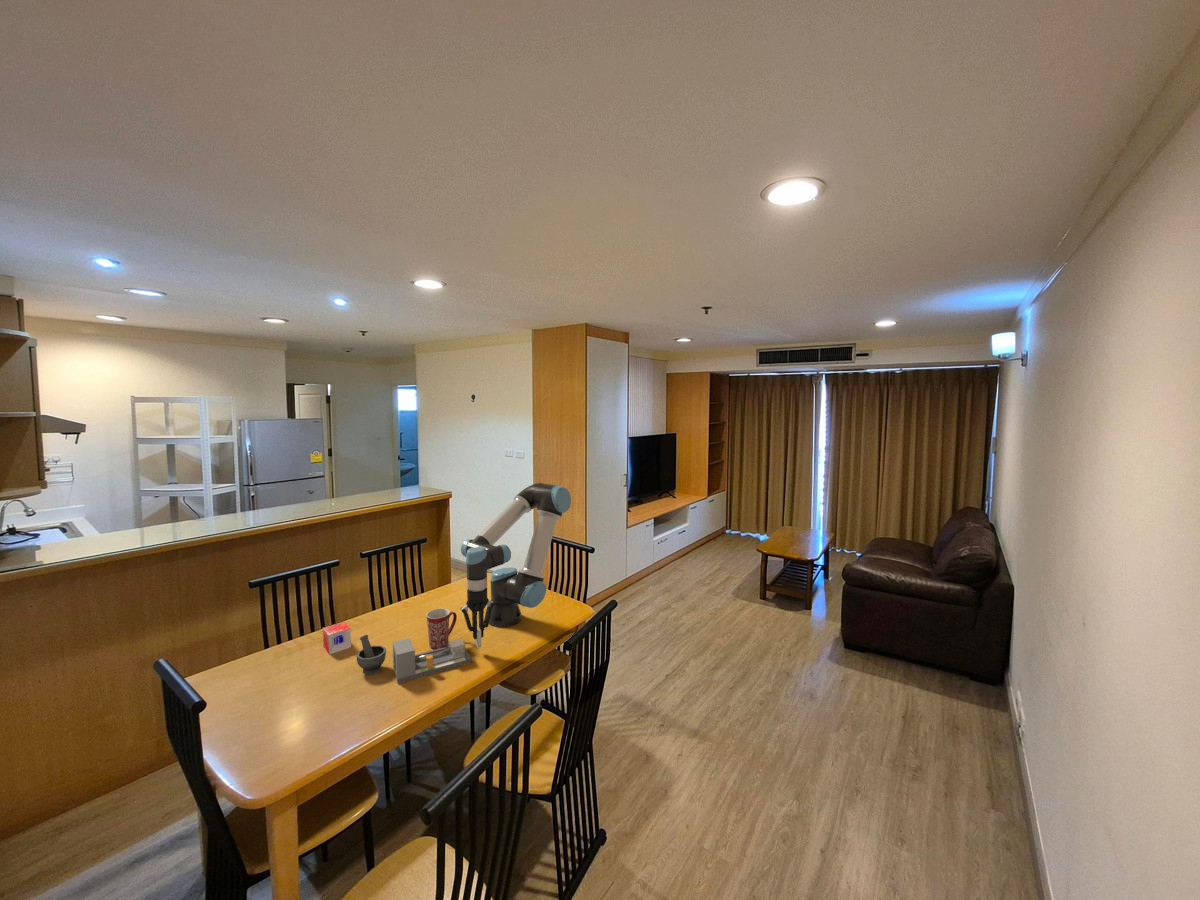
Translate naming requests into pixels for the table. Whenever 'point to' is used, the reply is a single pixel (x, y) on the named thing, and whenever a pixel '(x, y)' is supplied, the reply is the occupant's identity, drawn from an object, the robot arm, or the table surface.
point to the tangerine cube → (429, 662)
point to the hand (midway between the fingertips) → (478, 645)
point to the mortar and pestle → (370, 657)
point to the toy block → (336, 637)
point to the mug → (439, 627)
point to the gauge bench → (410, 669)
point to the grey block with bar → (448, 651)
